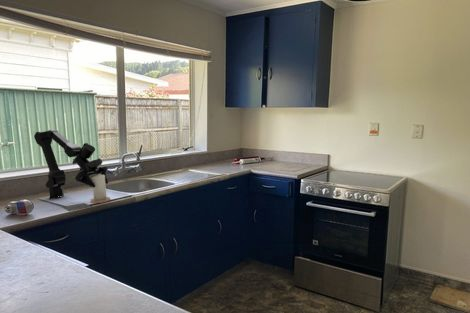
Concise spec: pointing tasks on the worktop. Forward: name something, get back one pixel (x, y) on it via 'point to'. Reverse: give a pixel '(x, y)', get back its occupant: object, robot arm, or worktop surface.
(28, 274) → the worktop surface
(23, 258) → the worktop surface
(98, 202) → the saucer
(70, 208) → the rubber mat
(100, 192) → the tumbler
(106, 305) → the worktop surface
